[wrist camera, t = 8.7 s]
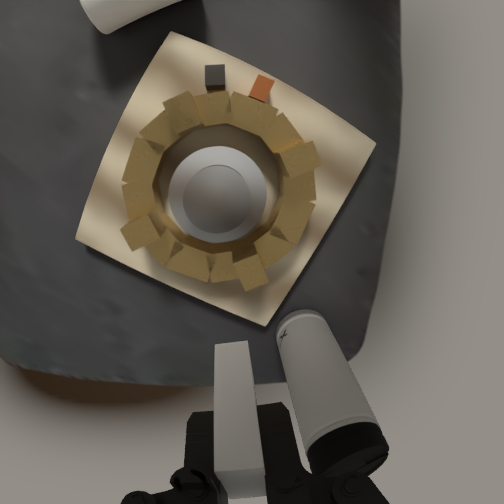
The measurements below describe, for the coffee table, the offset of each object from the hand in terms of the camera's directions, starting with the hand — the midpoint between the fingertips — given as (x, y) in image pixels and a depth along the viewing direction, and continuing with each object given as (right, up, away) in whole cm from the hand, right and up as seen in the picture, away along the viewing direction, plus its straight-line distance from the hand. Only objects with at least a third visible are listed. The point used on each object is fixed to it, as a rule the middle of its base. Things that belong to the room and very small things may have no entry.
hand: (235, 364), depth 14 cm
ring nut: (-2, +12, +12) cm, 17 cm away
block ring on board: (-2, +12, +14) cm, 19 cm away
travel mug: (+6, -4, +21) cm, 23 cm away
